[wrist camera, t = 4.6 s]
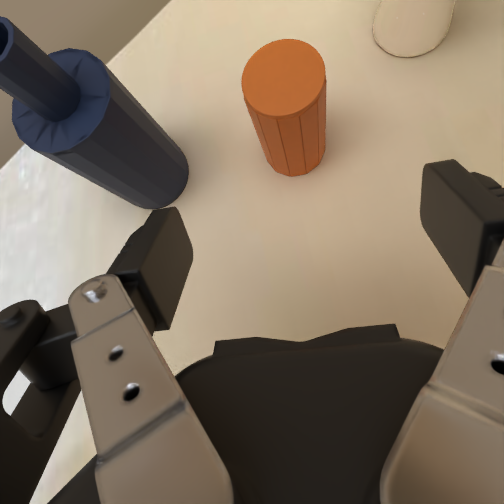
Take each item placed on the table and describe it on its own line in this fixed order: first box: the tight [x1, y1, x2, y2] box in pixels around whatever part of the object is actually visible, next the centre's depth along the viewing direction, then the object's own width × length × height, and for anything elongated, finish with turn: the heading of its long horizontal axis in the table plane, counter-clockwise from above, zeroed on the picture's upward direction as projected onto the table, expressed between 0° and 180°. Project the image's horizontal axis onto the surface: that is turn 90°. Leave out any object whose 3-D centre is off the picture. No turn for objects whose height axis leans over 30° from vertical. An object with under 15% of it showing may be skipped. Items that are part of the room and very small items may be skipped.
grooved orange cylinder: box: [242, 39, 326, 177], centre depth 25 cm, size 5×5×10 cm
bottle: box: [0, 16, 188, 209], centre depth 24 cm, size 7×7×16 cm
